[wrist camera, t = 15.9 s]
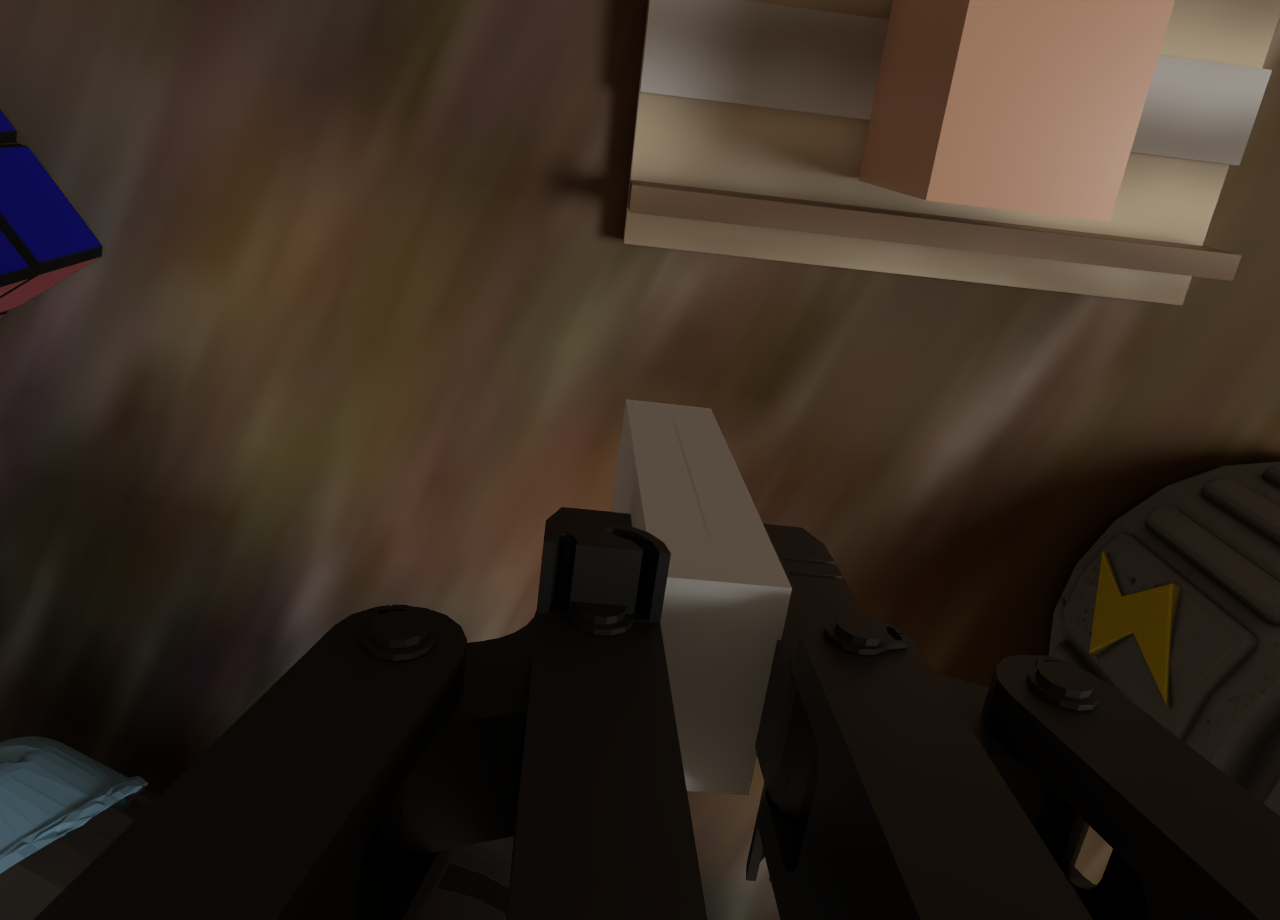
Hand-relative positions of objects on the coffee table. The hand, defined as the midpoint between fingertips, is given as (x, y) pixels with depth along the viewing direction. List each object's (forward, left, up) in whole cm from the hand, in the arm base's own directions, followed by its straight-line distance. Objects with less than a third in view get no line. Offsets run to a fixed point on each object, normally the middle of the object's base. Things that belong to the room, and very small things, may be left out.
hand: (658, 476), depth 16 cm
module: (+8, -12, -22) cm, 26 cm away
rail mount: (+8, -12, -24) cm, 28 cm away
